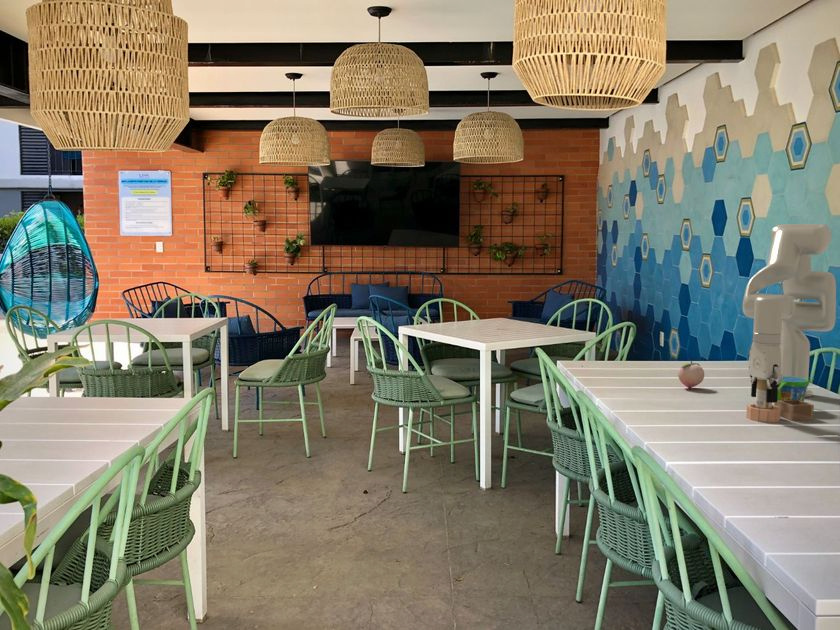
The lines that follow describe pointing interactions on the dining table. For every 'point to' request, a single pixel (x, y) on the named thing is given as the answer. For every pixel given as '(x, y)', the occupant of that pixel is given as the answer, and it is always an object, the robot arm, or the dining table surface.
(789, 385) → the snack cup
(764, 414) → the pot
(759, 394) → the sprinkles bottle
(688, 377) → the decorative fruit
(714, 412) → the dining table surface
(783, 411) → the walnut box
